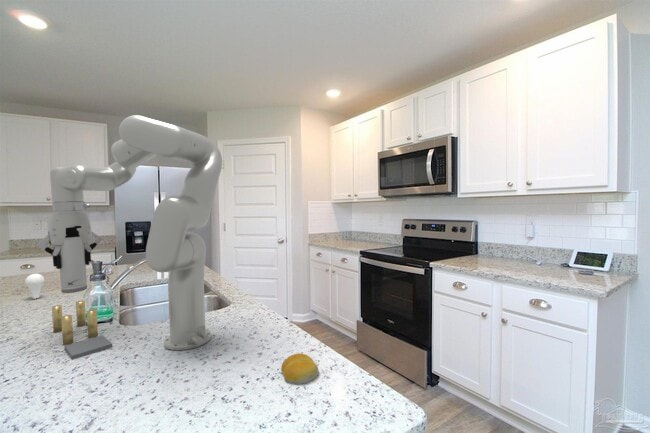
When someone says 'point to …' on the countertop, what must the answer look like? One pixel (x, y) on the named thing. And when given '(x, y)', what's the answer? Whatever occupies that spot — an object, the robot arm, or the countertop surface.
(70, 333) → the spacer posts
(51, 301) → the countertop surface
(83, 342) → the mat
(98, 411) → the countertop surface
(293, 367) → the bread roll
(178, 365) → the countertop surface
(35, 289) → the lightbulb
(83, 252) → the travel mug
